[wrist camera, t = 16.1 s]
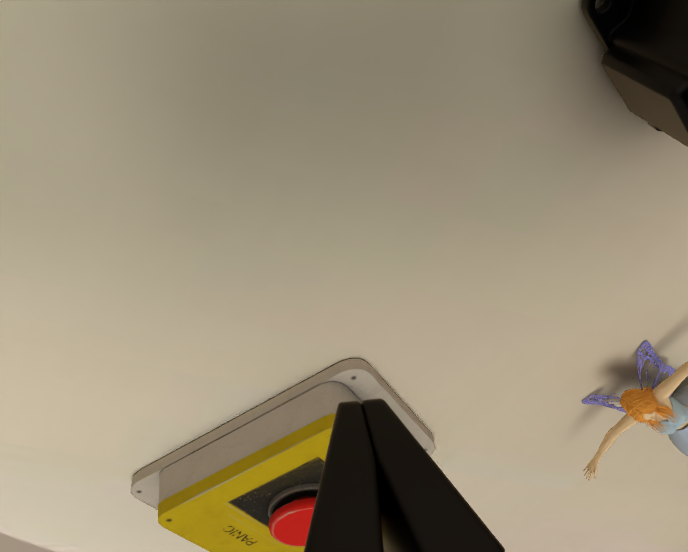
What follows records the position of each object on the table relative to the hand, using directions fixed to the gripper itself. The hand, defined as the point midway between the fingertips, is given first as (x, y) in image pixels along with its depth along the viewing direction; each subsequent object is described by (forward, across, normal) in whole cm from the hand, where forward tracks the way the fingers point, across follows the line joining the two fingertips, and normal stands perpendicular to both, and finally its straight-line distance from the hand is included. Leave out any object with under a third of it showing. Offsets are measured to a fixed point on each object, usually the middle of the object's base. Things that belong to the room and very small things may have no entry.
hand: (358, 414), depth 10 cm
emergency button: (+12, +1, +18) cm, 22 cm away
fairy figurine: (+12, -21, +16) cm, 29 cm away
